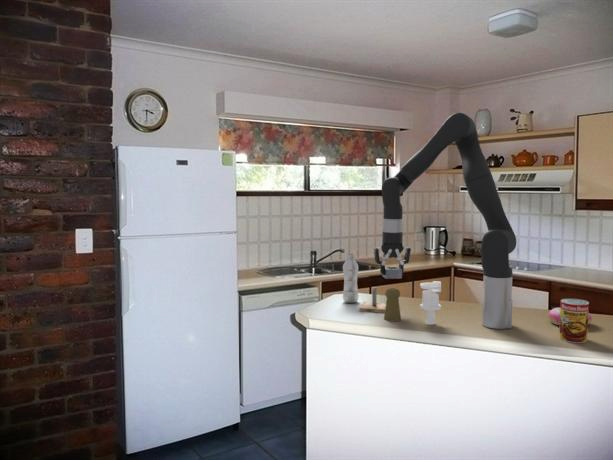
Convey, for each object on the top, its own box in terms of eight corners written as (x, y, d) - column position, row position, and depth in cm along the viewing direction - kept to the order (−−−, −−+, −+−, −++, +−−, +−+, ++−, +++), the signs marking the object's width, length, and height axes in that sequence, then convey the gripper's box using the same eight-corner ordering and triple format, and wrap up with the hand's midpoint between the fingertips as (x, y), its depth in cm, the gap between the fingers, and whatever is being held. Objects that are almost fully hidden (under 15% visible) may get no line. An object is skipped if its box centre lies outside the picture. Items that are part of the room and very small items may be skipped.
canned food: (560, 341, 164) (561, 303, 162) (558, 334, 171) (559, 297, 170) (588, 344, 161) (590, 305, 160) (585, 336, 168) (587, 299, 167)
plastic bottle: (361, 301, 218) (361, 253, 216) (353, 305, 212) (353, 255, 210) (347, 300, 222) (347, 252, 220) (339, 303, 216) (339, 254, 214)
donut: (590, 321, 186) (591, 307, 186) (592, 331, 174) (593, 316, 174) (548, 317, 192) (549, 303, 192) (547, 326, 180) (547, 312, 180)
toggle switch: (388, 306, 210) (389, 286, 209) (385, 312, 200) (385, 291, 199) (363, 305, 212) (363, 284, 212) (359, 311, 203) (359, 289, 202)
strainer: (439, 327, 180) (440, 283, 179) (418, 325, 183) (418, 282, 181) (441, 321, 187) (442, 279, 185) (421, 320, 189) (421, 278, 188)
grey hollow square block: (397, 275, 204) (397, 266, 204) (401, 278, 198) (401, 269, 198) (382, 275, 204) (382, 266, 203) (386, 278, 198) (386, 269, 198)
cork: (400, 321, 188) (401, 290, 187) (383, 320, 189) (383, 290, 188) (401, 317, 194) (401, 287, 193) (384, 316, 195) (384, 286, 194)
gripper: (408, 229, 204) (407, 272, 206) (371, 229, 202) (370, 273, 204) (414, 231, 196) (413, 276, 198) (376, 231, 195) (375, 277, 197)
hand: (391, 274), depth 201 cm, fingers closed on grey hollow square block, 6 cm apart
